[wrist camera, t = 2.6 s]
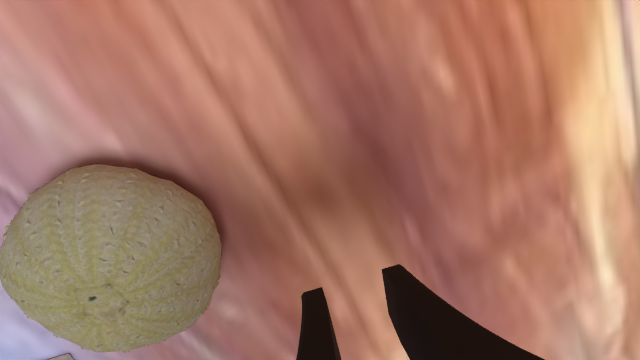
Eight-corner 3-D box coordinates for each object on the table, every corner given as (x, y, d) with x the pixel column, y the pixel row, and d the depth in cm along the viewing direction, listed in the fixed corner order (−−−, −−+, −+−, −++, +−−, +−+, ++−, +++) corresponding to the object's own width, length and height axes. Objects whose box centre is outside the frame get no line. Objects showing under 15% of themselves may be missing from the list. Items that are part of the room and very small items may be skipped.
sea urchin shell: (78, 368, 20) (-73, 404, 12) (68, 224, 22) (-61, 180, 15) (250, 318, 20) (209, 322, 13) (222, 184, 23) (175, 122, 15)
